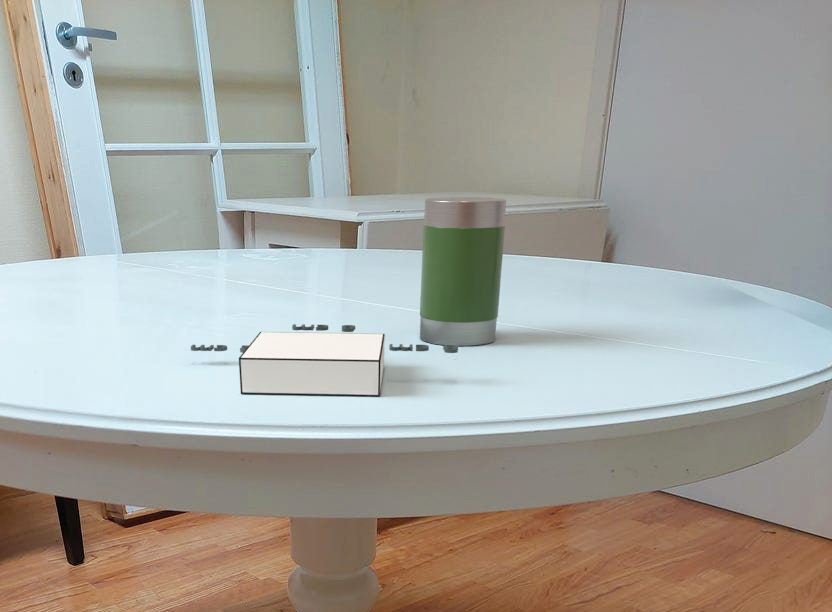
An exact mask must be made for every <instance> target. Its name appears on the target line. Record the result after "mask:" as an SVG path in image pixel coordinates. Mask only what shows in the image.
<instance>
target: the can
mask: <svg viewBox="0 0 832 612" xmlns="http://www.w3.org/2000/svg"><path fill="white" fill-rule="evenodd" d="M506 207H507V199H505V198H499V197H483V196H482V197H480V196H479V197H477V196H442V197H441V196H440V197H427V198H425V200H424V216H423V217H424V218H423V220H424V221H423V224H422V225H423V226H422V227H423V228H422V250H421V251H422V252H421V278H420V301H419V302H420V303H419V304H420V305H419V306H420V307H419V316H420V319H419V321H420V322H419V339H420V340H421V341H423V342H426V343H429V344H433V345H439V346H444V345H456V346H458V347H473V346H483V345H487V344H492V343H493V342H495V341H496V334H497V324H498V323H497V321H498V317H499V305H500V294H501V293H500V292H501V280H502V267H503V255H504V253H503V252H504V244H505V243H504V242H505V229H506V224H505V219H506Z"/></svg>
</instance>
